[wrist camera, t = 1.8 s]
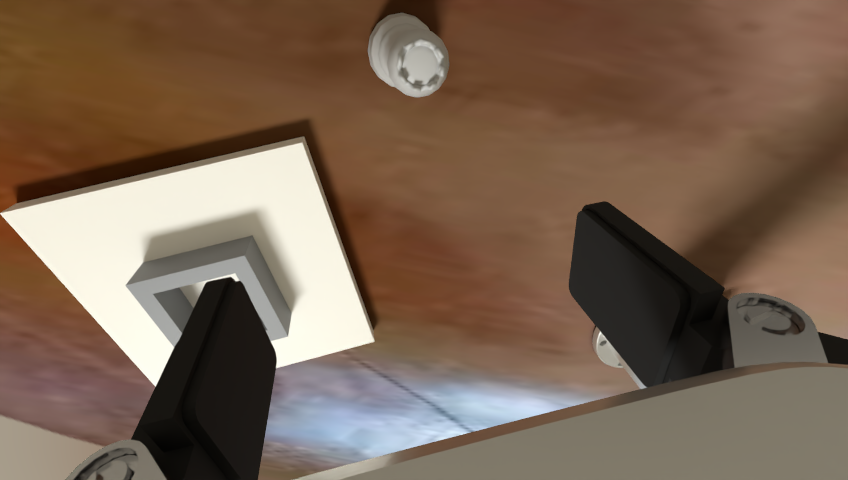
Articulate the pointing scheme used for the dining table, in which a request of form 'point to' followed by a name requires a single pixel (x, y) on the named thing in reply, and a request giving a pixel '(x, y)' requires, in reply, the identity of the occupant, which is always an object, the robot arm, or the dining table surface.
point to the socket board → (204, 252)
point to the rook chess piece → (408, 55)
